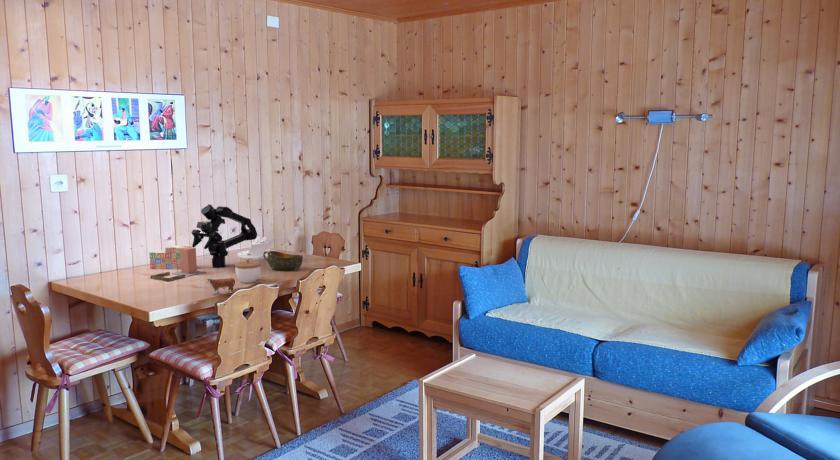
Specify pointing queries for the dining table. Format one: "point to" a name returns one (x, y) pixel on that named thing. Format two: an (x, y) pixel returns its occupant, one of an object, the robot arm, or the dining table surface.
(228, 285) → the bull figurine
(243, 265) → the lidded bowl
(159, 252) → the stack of blocks
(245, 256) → the dish
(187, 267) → the salmon-pink block
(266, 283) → the dining table surface
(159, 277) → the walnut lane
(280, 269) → the cup
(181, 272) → the slate-grey mat
